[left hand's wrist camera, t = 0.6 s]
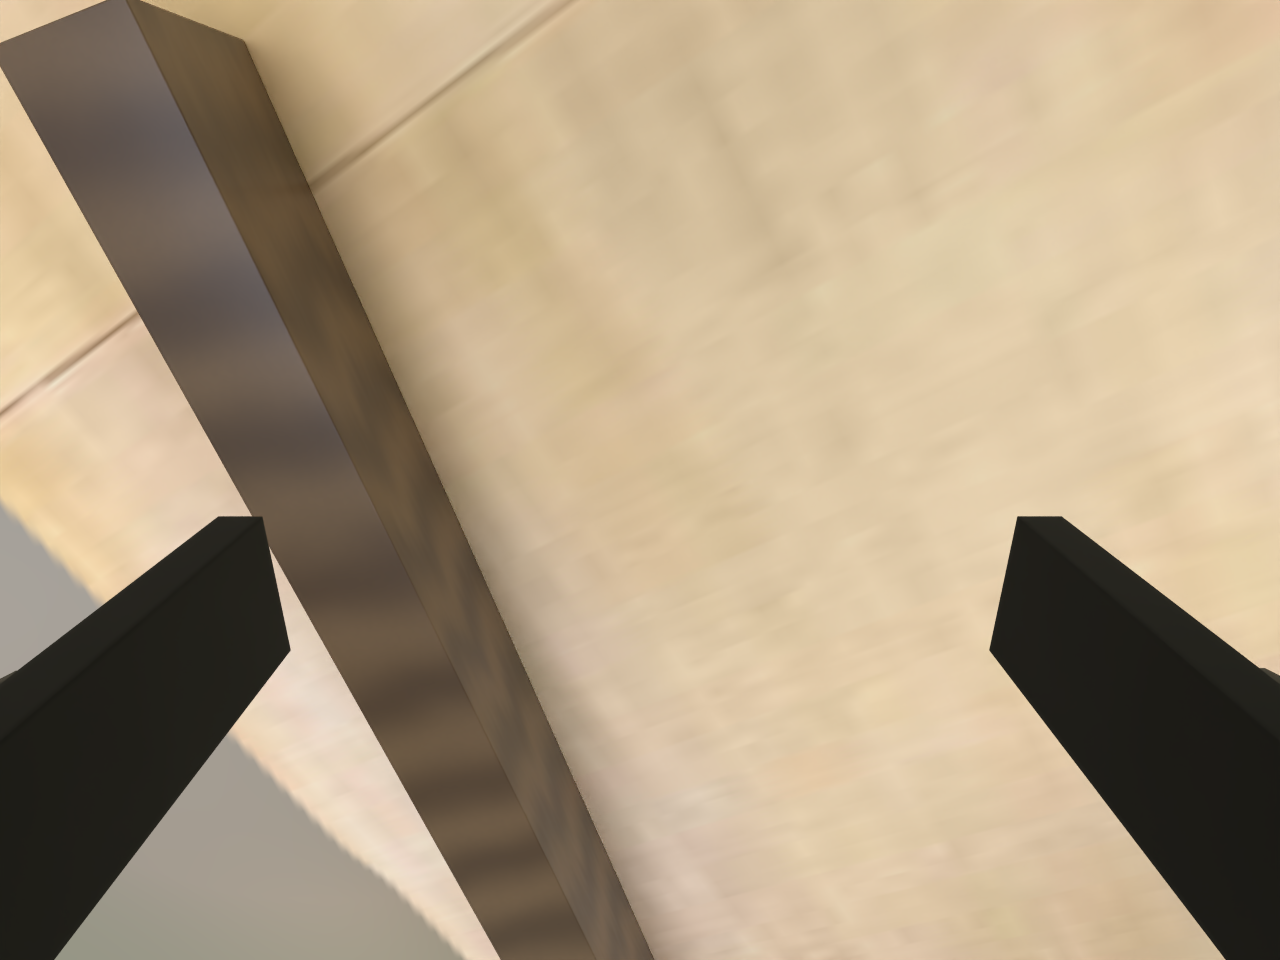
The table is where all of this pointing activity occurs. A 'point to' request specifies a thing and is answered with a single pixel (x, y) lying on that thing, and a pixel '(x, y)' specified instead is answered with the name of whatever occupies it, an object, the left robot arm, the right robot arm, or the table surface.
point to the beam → (321, 449)
